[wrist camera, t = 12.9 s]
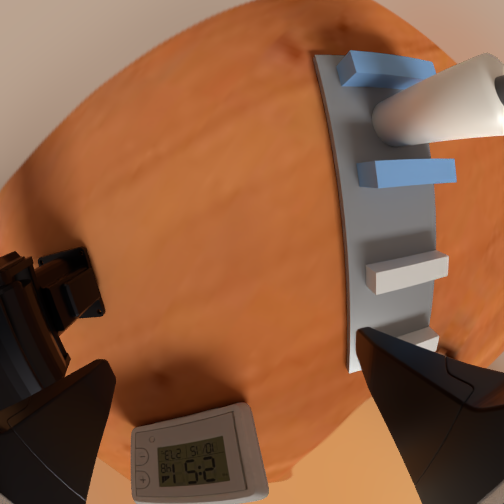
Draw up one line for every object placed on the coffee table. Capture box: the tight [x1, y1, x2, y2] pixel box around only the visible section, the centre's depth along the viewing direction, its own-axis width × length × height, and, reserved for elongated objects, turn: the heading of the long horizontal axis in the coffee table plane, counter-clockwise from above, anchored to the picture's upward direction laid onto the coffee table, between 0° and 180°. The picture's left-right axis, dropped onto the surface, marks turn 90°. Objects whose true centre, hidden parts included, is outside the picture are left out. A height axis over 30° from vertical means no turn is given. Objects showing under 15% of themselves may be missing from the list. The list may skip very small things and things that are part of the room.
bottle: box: [372, 53, 504, 147], centre depth 11 cm, size 4×4×14 cm
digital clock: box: [131, 402, 269, 504], centre depth 21 cm, size 16×9×11 cm, turn 105°
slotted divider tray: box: [313, 50, 457, 373], centre depth 19 cm, size 9×28×4 cm, turn 9°
